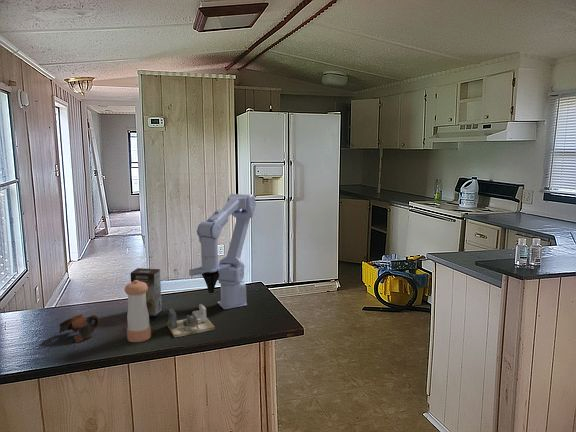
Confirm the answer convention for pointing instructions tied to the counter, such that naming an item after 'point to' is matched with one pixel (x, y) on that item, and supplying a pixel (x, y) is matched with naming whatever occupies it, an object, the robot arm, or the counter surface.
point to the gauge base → (190, 328)
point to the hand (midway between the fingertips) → (211, 292)
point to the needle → (185, 323)
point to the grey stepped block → (198, 315)
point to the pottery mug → (80, 326)
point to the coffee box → (150, 288)
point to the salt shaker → (137, 312)
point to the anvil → (172, 318)
